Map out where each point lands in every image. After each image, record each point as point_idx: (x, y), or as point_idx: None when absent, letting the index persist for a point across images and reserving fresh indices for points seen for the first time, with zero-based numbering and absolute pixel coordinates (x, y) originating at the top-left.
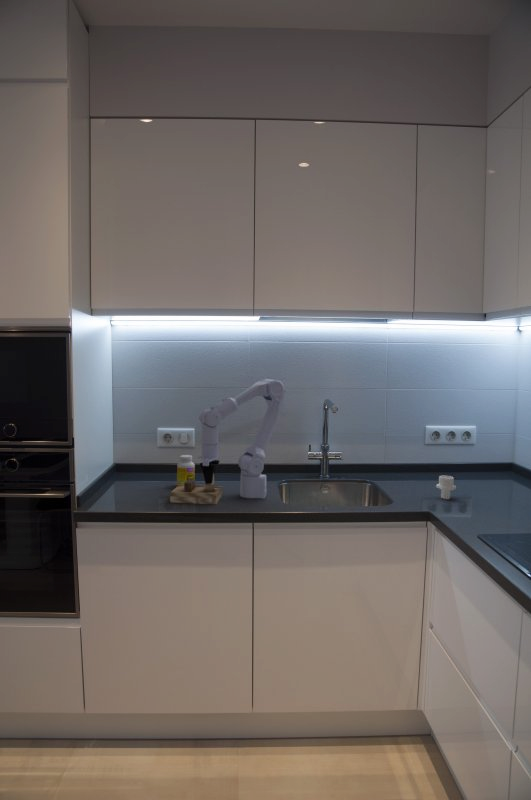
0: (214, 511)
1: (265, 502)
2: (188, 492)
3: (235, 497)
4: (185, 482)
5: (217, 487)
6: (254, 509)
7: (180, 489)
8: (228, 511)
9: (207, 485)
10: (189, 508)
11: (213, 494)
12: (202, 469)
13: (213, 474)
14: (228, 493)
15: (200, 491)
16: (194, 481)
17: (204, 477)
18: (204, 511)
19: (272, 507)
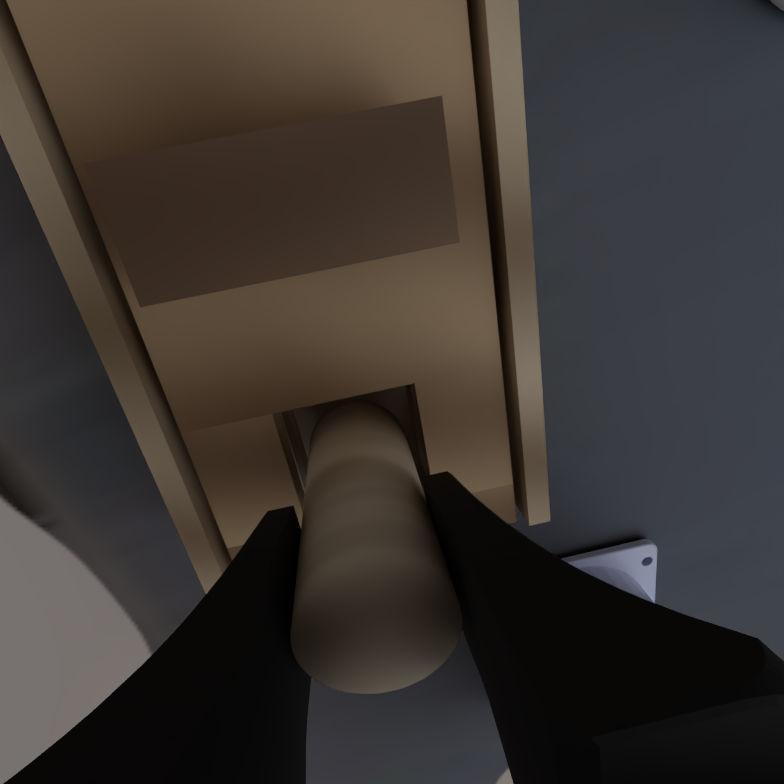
0: (117, 545)
1: (492, 715)
2: (93, 281)
3: (570, 526)
4: (152, 159)
5: (522, 481)
6: (309, 723)
7: (244, 43)
8: (177, 623)
9: (304, 502)
10: (69, 318)
11: (198, 572)
12: (64, 751)
13: (366, 691)
14: (684, 435)
15: (275, 385)
16: (407, 250)
17: (224, 573)
18: (67, 480)
19: (395, 774)
